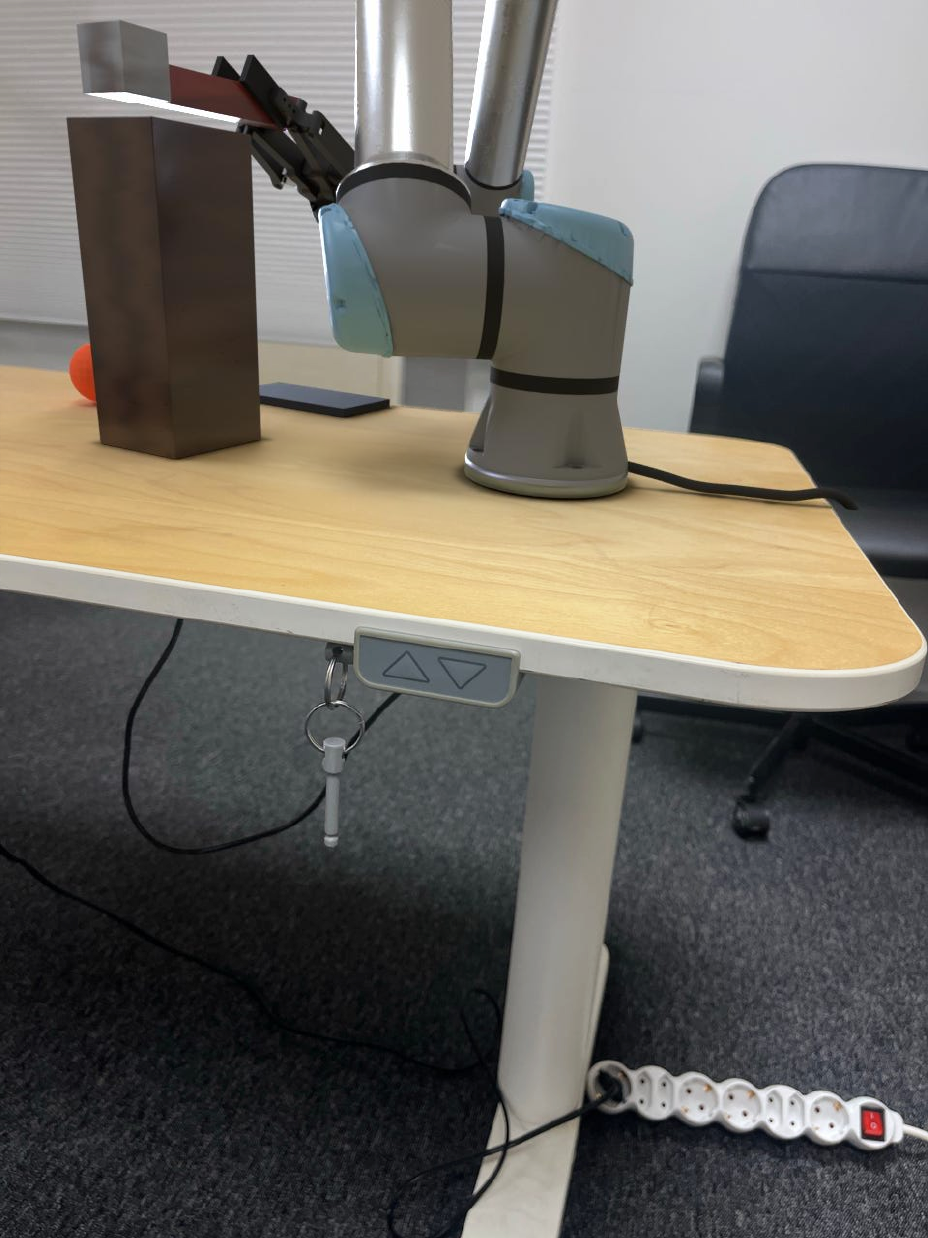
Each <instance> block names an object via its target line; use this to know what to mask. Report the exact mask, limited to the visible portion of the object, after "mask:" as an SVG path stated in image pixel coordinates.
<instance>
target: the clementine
mask: <svg viewBox="0 0 928 1238" xmlns="http://www.w3.org/2000/svg"><path fill="white" fill-rule="evenodd" d="M68 369H69V371H68V373H69V377H70V382H71V383H72V385H73V386H74V388H75V389H76V390H77V392H78V393H79V394H80V395H81V396H82V397H84V398H85V399H87V400H89V401H91V402H94V403H96V396H95V387H94V377H93V368H92V358H91V349H90V342H89V343H85V344H83V345H82V346H81V347H79V348H78V349H77V350H75V352H74V354H73V355H72V356H71V359H70V362H69V367H68Z"/></svg>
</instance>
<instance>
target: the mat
mask: <svg viewBox="0 0 928 1238" xmlns="http://www.w3.org/2000/svg"><path fill="white" fill-rule="evenodd" d="M259 391H260V404H263V405H268V406H275V407H281V408H286V409H293V410H299V411H303V412H304V411H306V412H309V413H316V414H322V415H329V416H334V417H340V418H346V417H352V416H356V415H360V414H364V413H369V412H373V411H377V410H382V409H387V408H390V407H391V399H390V398H385V397H384V398H383V397H380V396H379V397H378V396H373V395H366V394H360V393H353V392H346V391H339V390H333V389H326V388H319V387H314V386H309V385H308V386H307V385H302V384H301V385H300V384H293V383H289V382H288V383H287V382H281V381H278V382H271V383H266V384H259Z"/></svg>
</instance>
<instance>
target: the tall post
mask: <svg viewBox="0 0 928 1238" xmlns="http://www.w3.org/2000/svg"><path fill="white" fill-rule="evenodd" d="M65 121H66V128H67V130H66V131H67V139H68V149H69V156H70V168H71V174H72V175H71V177H72V185H73V194H74V196H73V197H74V206H75V214H76V223H77V232H78V243H79V253H80V261H81V262H80V263H81V272H82V280H83V281H82V282H83V291H84V299H85V311H86V321H87V329H88V338H89V343H90V349H91V358H92V368H93V377H94V387H95V396H96V402H95V405H96V415H97V423H98V425H97V426H98V435H99V443H100V444H104V445H106V446H107V445H108V446H113V447H118V448H122V449H126V450H130V451H136V452H141V453H145V454H149V455H150V454H151V455H154V456H159V457H164V458H169V459H174V460H179V459H183V458H186V457H190V456H191V457H192V456H194V455H200V454H204V453H208V452H212V451H216V450H221V449H224V448H229V447H234V446H238V445H242V444H243V445H244V444H246V443H247V444H248V443H251V442H255V441H259V440H262V427H261V425H262V423H261V421H262V420H261V403H260V391H259V385H260V372H259V371H260V366H259V339H258V338H259V337H258V335H259V334H258V332H259V331H258V307H257V304H258V303H257V277H256V276H257V274H256V249H255V247H256V246H255V220H254V219H255V217H254V216H255V215H254V214H255V213H254V189H253V188H254V185H253V156H252V154H251V135H250V134H244V133H239V132H235V131H232V130H228V129H221V128H217V127H213V126H207V125H202V124H196V123H190V122H185V121H179V120H174V119H169V118H165V117H164V118H163V117H158V116H152V115H112V116H111V115H110V116H108V115H107V116H105V115H104V116H102V115H101V116H96V115H95V116H66V119H65Z"/></svg>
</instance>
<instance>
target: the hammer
mask: <svg viewBox="0 0 928 1238" xmlns="http://www.w3.org/2000/svg"><path fill="white" fill-rule="evenodd" d="M76 32H77V44H78V51H79V52H78V54H79V63H80V65H79V66H80V74H81V84H82V93H83V94H85V95H89V96H94V97H99V98H105V99H108V100H115V101H120V102H125V103H128V104H131V103H132V104H133V103H134V104H135V103H139V104H144V105H148V106H152V107H157V108H163V109H168V110H173V111H178V112H182V113H188V114H193V115H197V116H202V117H208V118H212V119H216V120H222V121H227V122H231V123H236V124H238V123H241V124H246V125H251V126H256V127H261V128H266V129H271V130H276V131H283V132H288V130H287V129H288V124H287V123H286V126H285V128H278V127H277V126H276V125H275V123H274V122H273V121H272V120H271V119H270V118H269V116H268V115H267V114H266V113H265V112H264V110H263V109H262V108H261V107H260V106H259V104H258V103H257V102H256V101H255V100H254V99H253V97H252V96H251V95H250V94H249V93H248V91H247V90H246V89H245V88H244V87H243V85H242V84H241V83H240V82H236V81H232V80H229V79H225V78H221V77H217V76H213V75H211V74H209V73H205V72H202V71H197V70H194V69H189V68H185V67H183V66H178V65H173V64H170V60H169V59H170V58H169V44H168V34H167V33H166V32H163V31H160V30H156V29H152V28H149V27H146V26H143V25H139V24H136V23H132V22H129V21H126V20H122V19H112V20H111V19H110V20H97V21H83V22H76ZM288 95H289V97H290V98H291V99H292V100H293V102H294V103H295V104H296V101H297V99H302V98H301V97H298V96H294V95H290V94H288Z"/></svg>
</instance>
